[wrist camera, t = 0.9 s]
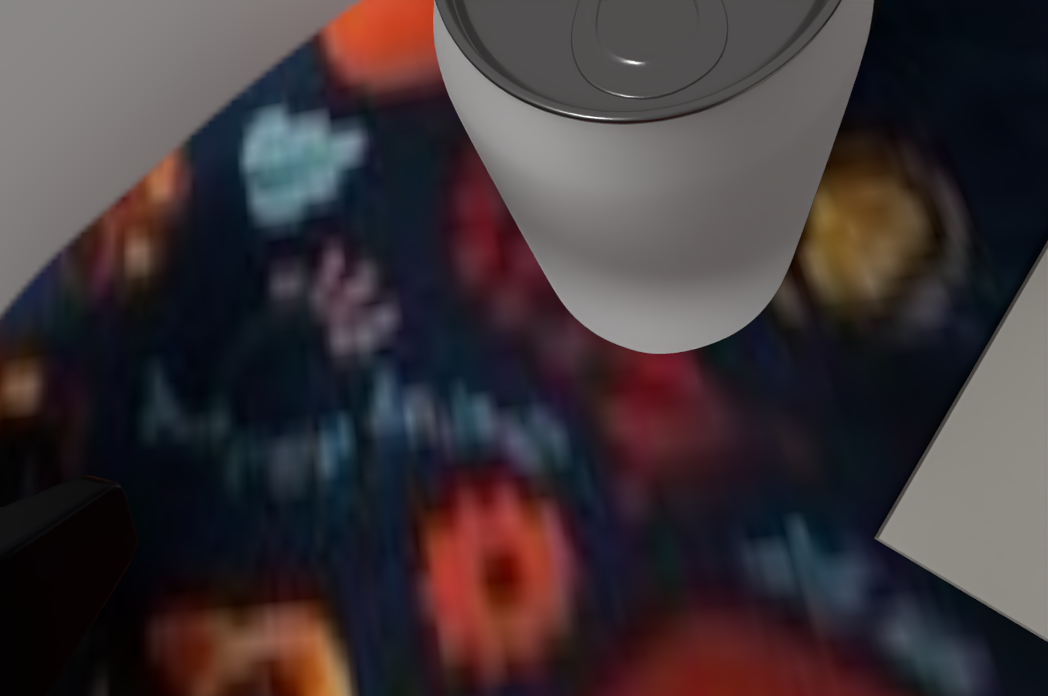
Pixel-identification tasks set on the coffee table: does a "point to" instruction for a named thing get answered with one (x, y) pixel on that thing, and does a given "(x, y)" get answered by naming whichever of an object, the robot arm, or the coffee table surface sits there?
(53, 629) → the robot arm
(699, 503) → the coffee table surface
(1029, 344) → the pad
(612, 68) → the can
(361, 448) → the coffee table surface
